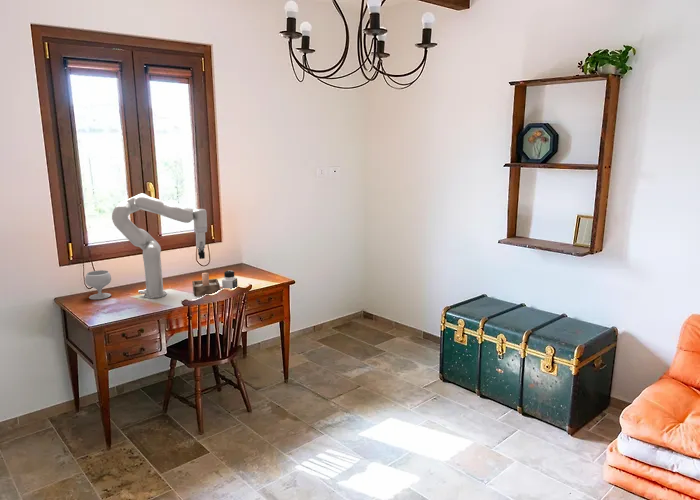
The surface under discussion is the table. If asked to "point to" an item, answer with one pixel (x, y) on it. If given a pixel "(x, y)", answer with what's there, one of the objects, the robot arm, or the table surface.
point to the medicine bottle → (229, 280)
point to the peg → (205, 279)
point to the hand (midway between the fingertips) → (201, 256)
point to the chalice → (98, 282)
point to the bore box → (205, 287)
